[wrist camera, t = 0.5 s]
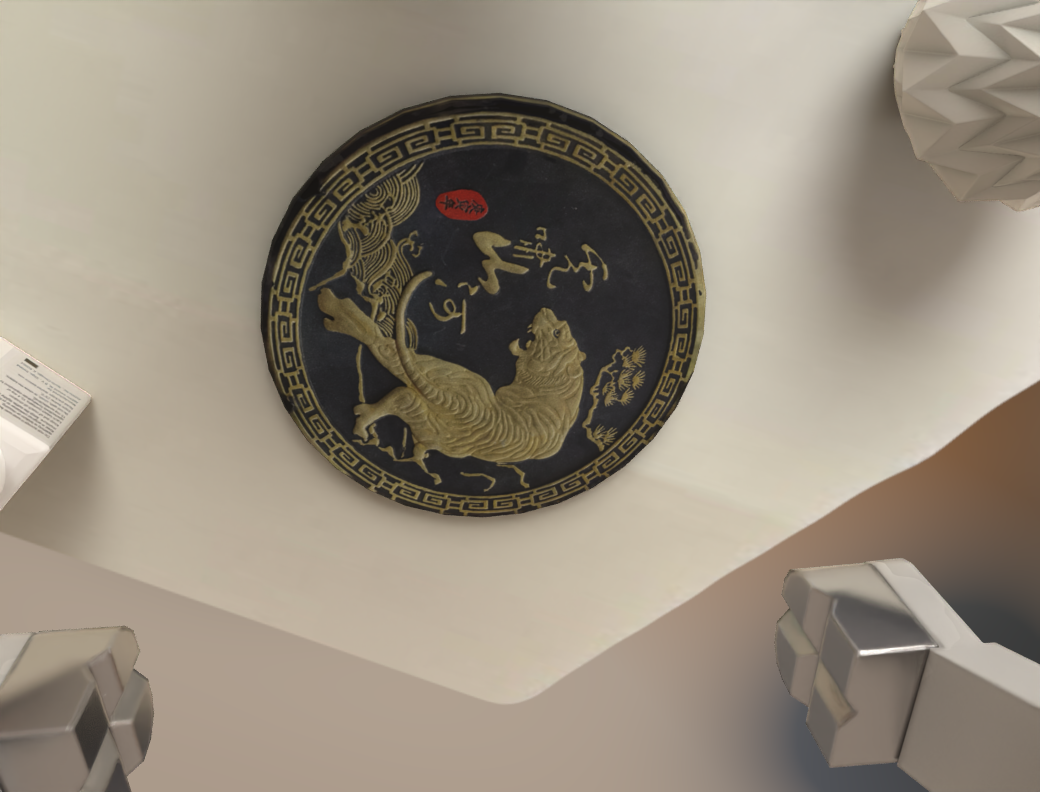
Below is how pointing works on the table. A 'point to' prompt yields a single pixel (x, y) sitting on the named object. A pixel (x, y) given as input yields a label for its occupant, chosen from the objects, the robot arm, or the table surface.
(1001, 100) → the vase
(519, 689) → the table surface
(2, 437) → the container
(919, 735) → the robot arm
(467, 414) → the decorative plate
